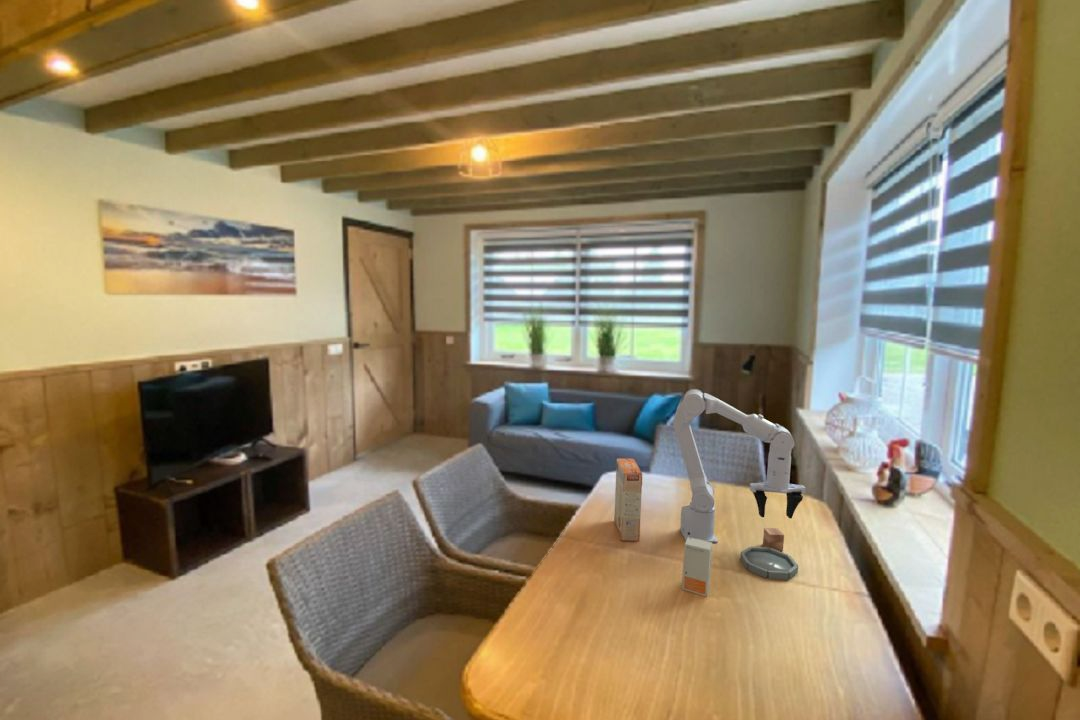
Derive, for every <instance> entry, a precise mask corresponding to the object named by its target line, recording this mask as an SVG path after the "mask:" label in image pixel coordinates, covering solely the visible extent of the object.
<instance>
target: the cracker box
mask: <svg viewBox="0 0 1080 720" xmlns="http://www.w3.org/2000/svg"><path fill="white" fill-rule="evenodd" d="M615 468H616V469H615V488H614V489H615V492H614V493H615V494H614V516H613V517H614V519H613V521H614V524H615V526H616V530H617V533H618V536H619V539H620V541H621V542H640V536H641V534H640V533H641V513H642V512H641V511H642V510H641V509H642V491H643V488H642V487H643V472H642V471H641V469H640V467H639V466H638V464H637V462H636V460H635V459H634V458H616V467H615Z"/></svg>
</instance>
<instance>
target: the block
mask: <svg viewBox="0 0 1080 720" xmlns="http://www.w3.org/2000/svg"><path fill="white" fill-rule="evenodd" d="M784 540H785V534H784V533H783V532H782V531H781V529H779V528H773V527H772V528H771V527H763V539H762V545H763V544H764V545H763V547H769V549H770V548H772V549H775V550H778V551H783V552H784V542H785V541H784Z"/></svg>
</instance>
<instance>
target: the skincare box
mask: <svg viewBox="0 0 1080 720" xmlns="http://www.w3.org/2000/svg"><path fill="white" fill-rule="evenodd" d="M713 543H714V542H707V541H703V540H700V539H694V538H690V537H687V540H686V541H685V542H684V547H683V548H684V551H683V564H682V565H683V566H682V578H681V579H682V582H681V590H682V591H686V592H689V593H694V594H697V595H700V596H703V597H707V596H708V595H709V594H708V593H709V591H710V590H709V589H710V586H711V570H712V569H711V568H712V555H713V554H712V553H713Z"/></svg>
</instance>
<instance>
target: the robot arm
mask: <svg viewBox="0 0 1080 720" xmlns="http://www.w3.org/2000/svg"><path fill="white" fill-rule="evenodd" d="M704 411H705V414H706V415H708V414H715V413H716V414H719V415H720V416H723V417H724V418H726V419H728V420H731V421H732V422H735V423H737V424H739V425H741V427H742V428H743V431H744V432H745V433H747V434H749V435H750V436H752V437H753V438H754V437H755V438H756V439H758V440H760V441H762V442H764V443H768V444H769V452H768V458H767V470H766V471H767V473H766V481H764V482H763V481H762V482H750V483H749V491H750V492H752V494H753V496H754V499H755V502H756V505H757V508H758V509H757V510H758V515H759V516H760V517H761V518H765V514H766V504H767V499H768V496H767V495H766V492H767V493H780V494H786V512H785V514H786V517H787V518H788V519H793V516H794V513H795V511H796V509H797V508H798V505H800V503H801V502H802V501H803V498H804V497H803V495H806V489H807V488H806V487H805V486H804V485H803V484H793V483H790V480H791V478H790V477H791V466H792V465H791V464H792V449H794V447H795V441H794V437H793V436H792V434H791V432H790V431H789V430H788V429H787V428H785V427H784V425H783V426H782V425H780V424H778V423H773V422H771V421H769V420H767V419H765V417H764V415H762V414H760V413H759V414H756V413H752V414H746V413H744V412H742V411H741V410H738V409H737V408H735V407H734V406H731V405H730V404H729V403H726V402H725V401H723V400H720V399H719V398H717V397H716V396H713V395H712V394H709V393H707V392H704V393H703V392H702V390H700V389H695V388H692V389H689V390H688V391H686V392H685V393H684V395H682V397H681V398H680V400H679V403H678V406H677V408H676V411H675V414H674V417H673V420H672V425H673V428H674V432H675V436H676V438H677V442H678V445H679V449H680V452H681V455H682V459H683V462H684V465H685V469H686V472H687V475H688V478H689V485H690V490H691V496H692V497H691V500H690V503H689V505H685V506H681V510H680V525H679V526H680V527H679V530H680V532H681V534H682V536H683V539H684V540H685V542H686V540H687V537H690V538H694V539H700V540H703V541H707V542H711V543H718V542H719V540H718V539H717V537H716V535H715V518H716V517H715V516H716V515H715V514H716V506H715V499H714V498H715V497H714V496H715V489H714V487H713V485H712V484H711V483H710V482H709V481H708V477H707V475H706V474H705V471H704V466H703V463H702V461H701V458H700V457H701V456H700V453H699V450H698V447H697V444H696V440H695V437H694V434H693V430H692V426H691V425H692V423H693V421H694V420H695V419H696V418H697V417H699V416H700V415H701V414H703V412H704Z"/></svg>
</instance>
